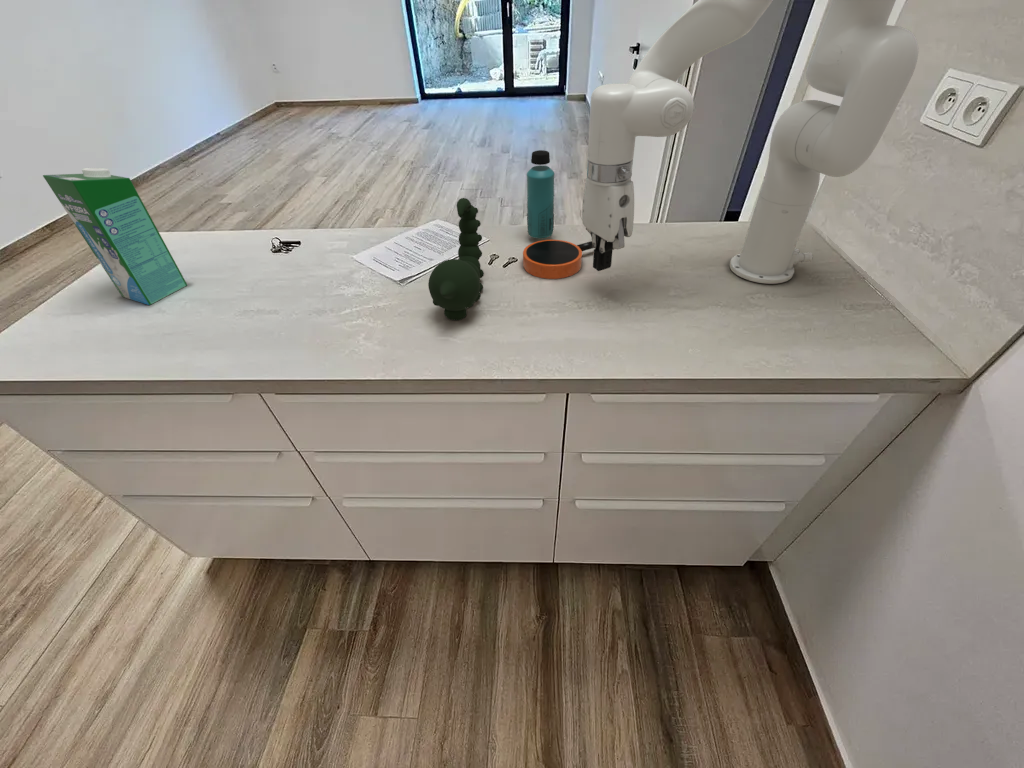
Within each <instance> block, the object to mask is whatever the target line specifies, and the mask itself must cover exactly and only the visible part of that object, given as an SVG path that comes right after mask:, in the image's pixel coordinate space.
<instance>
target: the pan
mask: <svg viewBox="0 0 1024 768" xmlns="http://www.w3.org/2000/svg"><path fill="white" fill-rule="evenodd" d="M592 249H594V248H593V246H592V240H590V241H587V242H584V243H583V242H582V243H579V244H575V243H573V242H571V241H568V240H563V239H562V240H561V239H543V240H538V241H534V242H532V243H530V244H528V245H527V246H525V248H524V249H523V251H522V267H523V269H524V270H525V272H527V273H528V274H529V275H531V276H534V277H536V278H539V279H540V278H541V279H546V280H547V279H548V280H557V279H565V278H569V277H571V276H574V275H575V274H577V273H578V272H579V271H580V270H581V268H582V263H583V262H582V260H583V252H584V251H589V250H592Z"/></svg>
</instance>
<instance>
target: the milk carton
mask: <svg viewBox="0 0 1024 768" xmlns="http://www.w3.org/2000/svg"><path fill="white" fill-rule="evenodd" d="M81 171H82V173H63V174H44V175H42V177H43V179H44V180H45V182H46V183H47V185H48V186H49V188H50V189H51V191H52V192H53V194H54V196H55V197H56V198H57V200H58V202H59V203H60V204H61V206H62V208H63V209H64V210H65V212H66V213H67V215H68V217H69V218H70V220H71V221H72V223H73V224H74V225H75V227H76V229H77V230H78V232H79V234H80V235H81V237H82V238H83V240H84V241H85V243H86V244H87V246H88V247H89V249H90V250H91V251H92V253H93V254H94V256H95V258H96V260H97V261H98V262H99V264H100V265H101V267H102V268H103V270H104V271H105V273H106V275H107V276H108V277H109V279H110V280H111V282H112V284H113V286H114V287H115V288H116V289H117V291H118V293H119V295H121V297H122V298H124V299H128V300H131V301H135V302H137V303H141V304H145V305H147V306H151V305H153V304H155V303H157V302H158V301H161V300H162V299H164V298H166V297H168V296H170V295H172V294H174V293H175V292H178V291H179V290H181V289H183V288H185V287H187V286H188V283H187V281H186V279H185V278H184V276H183V274H182V272H181V270H180V269H179V267H178V265H177V263H176V261H175V259H174V257H173V255H172V253H171V252H170V250H169V249H168V246H167V244H166V243H165V241H164V239H163V237H162V235H161V234H160V231H159V230H158V228H157V225H156V224H155V222H154V221H153V219H152V217H151V214H150V213H149V211H148V209H147V208H146V206H145V204H144V202H143V200H142V198H141V196H140V194H139V193H138V191H137V189H136V187H135V185H134V184H133V182H132V180H131V178H130V177H125V176H120V175H114V174H111V172H110V169H109V168H103V167H101V168H99V167H85V168H81Z"/></svg>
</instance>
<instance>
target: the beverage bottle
mask: <svg viewBox="0 0 1024 768" xmlns="http://www.w3.org/2000/svg"><path fill="white" fill-rule="evenodd" d="M550 157H551V156H550V151H548V150H545V149H544V150H543V149H540V150H534V151H532V152H531V158H530V163H531V164H533V165H534V166H532V167H531V168H529V170H528V171H527V173H526V195H527V196H526V212H527V213H526V224H527V225H526V226H527V231H526V232H527V234H528V236H529V237H531V238H534V239H546V238H549V237H551V236H552V235H553V234H554V229H555V228H554V227H555V223H554V222H555V171H554V170H553V169H552V168H551V167H550V166H547V165H548V164H550V162H551V158H550Z"/></svg>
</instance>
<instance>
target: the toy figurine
mask: <svg viewBox="0 0 1024 768" xmlns="http://www.w3.org/2000/svg"><path fill="white" fill-rule="evenodd" d="M456 211H457V216H458V217H459V218H460V219H459V221H458V228H459V231H460V233H459V235H458V244H459V247H458V250H457V255H458V256H457V257H458V259H457V258H452V259H451V258H450V259H446V260H443V261H441V262H440V263H439V264H437V265H436V266H435V267H434V268H433V269H432V271H431V274H430V275H429V278H428V282H427V283H428V284H427V286H428V291H429V293H430V297H431V300H432V304H433V306H436V307H439V308H442V309H444V310H443V315H444V316H445V318H447V319H448V320H450V321H461V320H464V319H465V318H466V316H467V312H468V311H467V309H469V308H472V307H473V305H474V304H475V303H476V302H478V301H479V300H480V299H481V296H482V294H481V293H482V291H483V290H484V285H483V284H482V282H481V279H482V278H483V277H484V275H485V272H484V270H483V269H481V263H480V261H479V260H480V258H481V257H482V256H483V252H482V250H481V249H480V247H479V245H480V242H482V240H483V236H482V234H479V233H478V229H479V227H480V226H481V220H479V219H476V217H477V214H478V213H479V209H478V208H477V207H475V206H473V205H472V203H471V201H470V200H469V199H468V198H465V197H461V198H459V199H458V201H457V202H456Z"/></svg>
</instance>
